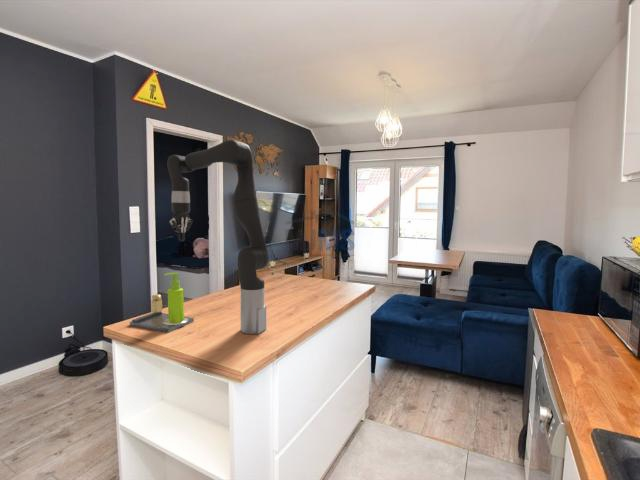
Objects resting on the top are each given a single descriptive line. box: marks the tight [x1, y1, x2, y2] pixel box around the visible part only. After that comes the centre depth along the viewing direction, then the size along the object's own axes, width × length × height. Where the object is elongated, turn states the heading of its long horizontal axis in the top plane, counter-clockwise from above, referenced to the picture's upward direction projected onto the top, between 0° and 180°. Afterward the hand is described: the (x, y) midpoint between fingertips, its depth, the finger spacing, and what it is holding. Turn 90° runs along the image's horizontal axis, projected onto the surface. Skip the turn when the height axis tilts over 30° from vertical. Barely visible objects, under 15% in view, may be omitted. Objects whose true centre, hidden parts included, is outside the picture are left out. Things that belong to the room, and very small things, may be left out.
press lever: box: [150, 294, 163, 313], centre depth 149 cm, size 4×4×7 cm
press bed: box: [129, 311, 195, 333], centre depth 142 cm, size 21×14×2 cm
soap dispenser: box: [163, 272, 185, 323], centre depth 139 cm, size 6×7×20 cm
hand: (181, 241), depth 153 cm, fingers closed
